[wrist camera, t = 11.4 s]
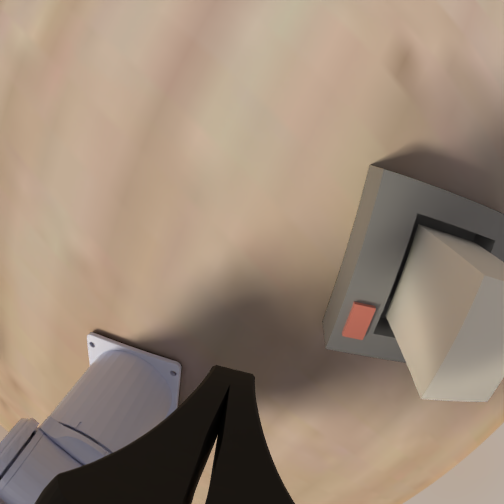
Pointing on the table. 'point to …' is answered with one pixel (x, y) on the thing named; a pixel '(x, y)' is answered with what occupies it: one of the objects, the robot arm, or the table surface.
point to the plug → (450, 317)
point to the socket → (394, 255)
